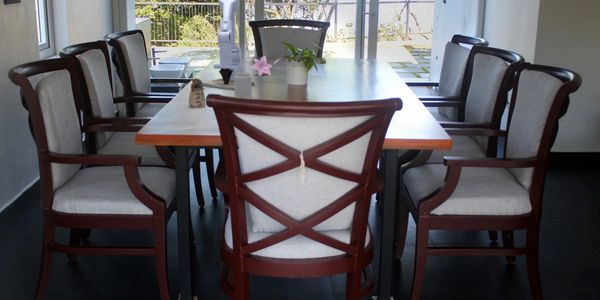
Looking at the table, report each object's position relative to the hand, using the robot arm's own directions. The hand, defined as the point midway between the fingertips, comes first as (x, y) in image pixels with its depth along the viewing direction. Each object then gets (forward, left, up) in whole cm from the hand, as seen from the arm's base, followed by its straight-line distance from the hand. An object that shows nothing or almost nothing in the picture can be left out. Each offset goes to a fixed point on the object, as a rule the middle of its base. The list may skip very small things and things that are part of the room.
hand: (226, 84), depth 342 cm
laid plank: (-9, -3, -2) cm, 10 cm away
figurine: (+43, +21, -2) cm, 48 cm away
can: (+21, +28, -2) cm, 35 cm away
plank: (-1, -3, -1) cm, 4 cm away
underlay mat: (-5, -3, -2) cm, 6 cm away
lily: (-44, -12, -2) cm, 46 cm away
